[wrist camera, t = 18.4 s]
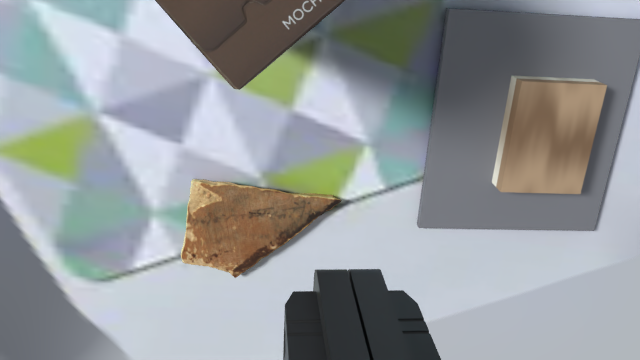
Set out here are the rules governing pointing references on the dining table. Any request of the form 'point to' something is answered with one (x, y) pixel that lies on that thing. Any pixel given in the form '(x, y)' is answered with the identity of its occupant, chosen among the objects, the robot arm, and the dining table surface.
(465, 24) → the mat
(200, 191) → the shard
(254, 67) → the cookie box
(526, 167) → the slab
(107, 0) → the dining table surface
